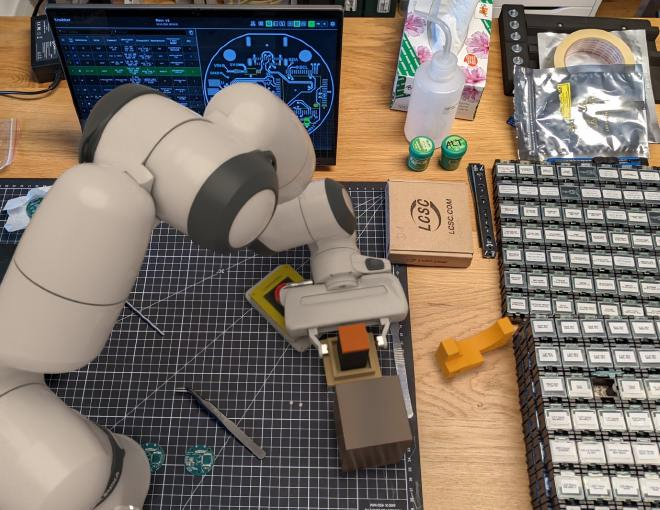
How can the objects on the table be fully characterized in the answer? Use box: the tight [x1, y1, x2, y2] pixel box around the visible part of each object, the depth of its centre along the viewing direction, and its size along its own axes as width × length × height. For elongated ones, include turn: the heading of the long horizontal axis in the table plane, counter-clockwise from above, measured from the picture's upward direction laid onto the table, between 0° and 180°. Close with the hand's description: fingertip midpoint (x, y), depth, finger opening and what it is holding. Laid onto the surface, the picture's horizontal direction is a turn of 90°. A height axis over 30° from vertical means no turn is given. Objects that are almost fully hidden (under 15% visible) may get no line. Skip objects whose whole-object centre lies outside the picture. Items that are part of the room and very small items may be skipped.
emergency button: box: [245, 263, 327, 353], centre depth 106 cm, size 9×4×15 cm
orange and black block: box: [337, 323, 370, 371], centre depth 99 cm, size 4×4×9 cm
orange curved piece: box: [434, 316, 516, 380], centre depth 102 cm, size 12×4×6 cm, turn 111°
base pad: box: [319, 331, 383, 388], centre depth 102 cm, size 9×8×3 cm
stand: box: [332, 374, 414, 473], centre depth 91 cm, size 9×9×16 cm
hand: (353, 352), depth 98 cm, fingers open, 8 cm apart
